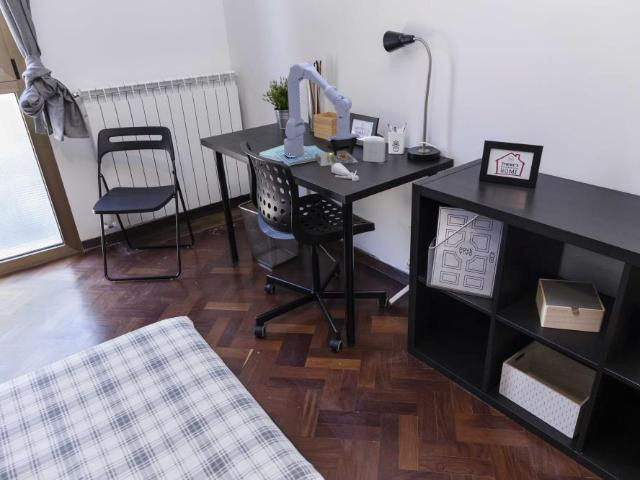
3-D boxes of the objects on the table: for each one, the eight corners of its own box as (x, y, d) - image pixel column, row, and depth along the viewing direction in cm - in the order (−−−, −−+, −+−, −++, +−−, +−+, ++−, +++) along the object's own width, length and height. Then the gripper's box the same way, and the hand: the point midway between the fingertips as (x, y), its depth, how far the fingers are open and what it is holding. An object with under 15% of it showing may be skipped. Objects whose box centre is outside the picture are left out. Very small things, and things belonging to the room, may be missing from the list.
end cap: (334, 152, 241) (333, 139, 238) (326, 149, 247) (326, 136, 244) (350, 149, 246) (350, 136, 243) (343, 146, 251) (343, 133, 248)
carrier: (321, 167, 219) (321, 159, 218) (310, 155, 237) (310, 148, 235) (358, 164, 223) (358, 155, 222) (345, 152, 241) (345, 144, 239)
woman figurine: (344, 158, 216) (368, 171, 203) (344, 168, 219) (368, 181, 206) (322, 163, 211) (346, 177, 198) (322, 173, 213) (346, 187, 200)
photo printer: (385, 161, 225) (386, 135, 220) (383, 164, 222) (384, 138, 216) (364, 160, 228) (364, 134, 223) (362, 163, 225) (362, 136, 219)
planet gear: (339, 161, 224) (339, 153, 222) (336, 158, 228) (336, 150, 226) (349, 161, 225) (349, 152, 223) (346, 158, 229) (346, 149, 227)
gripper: (330, 128, 213) (330, 158, 220) (361, 126, 217) (360, 155, 223) (326, 125, 220) (326, 154, 226) (356, 122, 223) (355, 151, 229)
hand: (343, 154), depth 225 cm, fingers open, 7 cm apart
